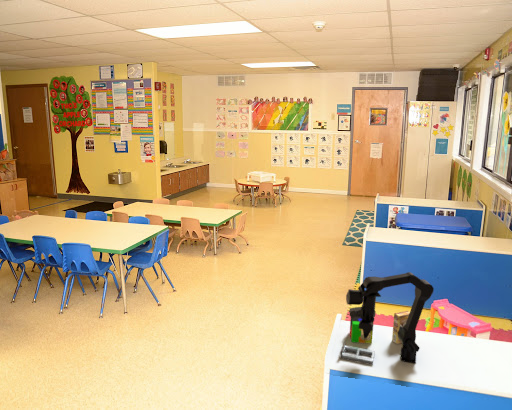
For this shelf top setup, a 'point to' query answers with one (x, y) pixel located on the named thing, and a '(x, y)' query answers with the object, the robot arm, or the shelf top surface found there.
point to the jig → (357, 357)
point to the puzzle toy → (357, 331)
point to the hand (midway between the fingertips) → (365, 335)
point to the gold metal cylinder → (363, 336)
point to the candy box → (399, 324)
